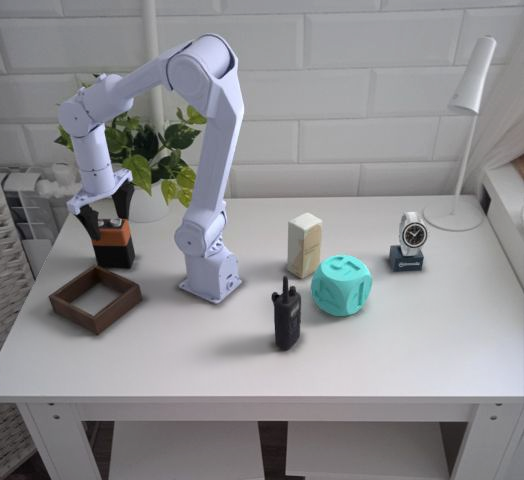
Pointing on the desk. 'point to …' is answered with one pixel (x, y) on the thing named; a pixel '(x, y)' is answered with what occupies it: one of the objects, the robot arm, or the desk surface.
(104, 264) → the battery
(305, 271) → the box
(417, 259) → the watch
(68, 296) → the brown square open frame
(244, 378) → the desk surface
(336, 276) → the decorative dice
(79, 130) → the robot arm
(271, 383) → the desk surface
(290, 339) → the two-way radio
